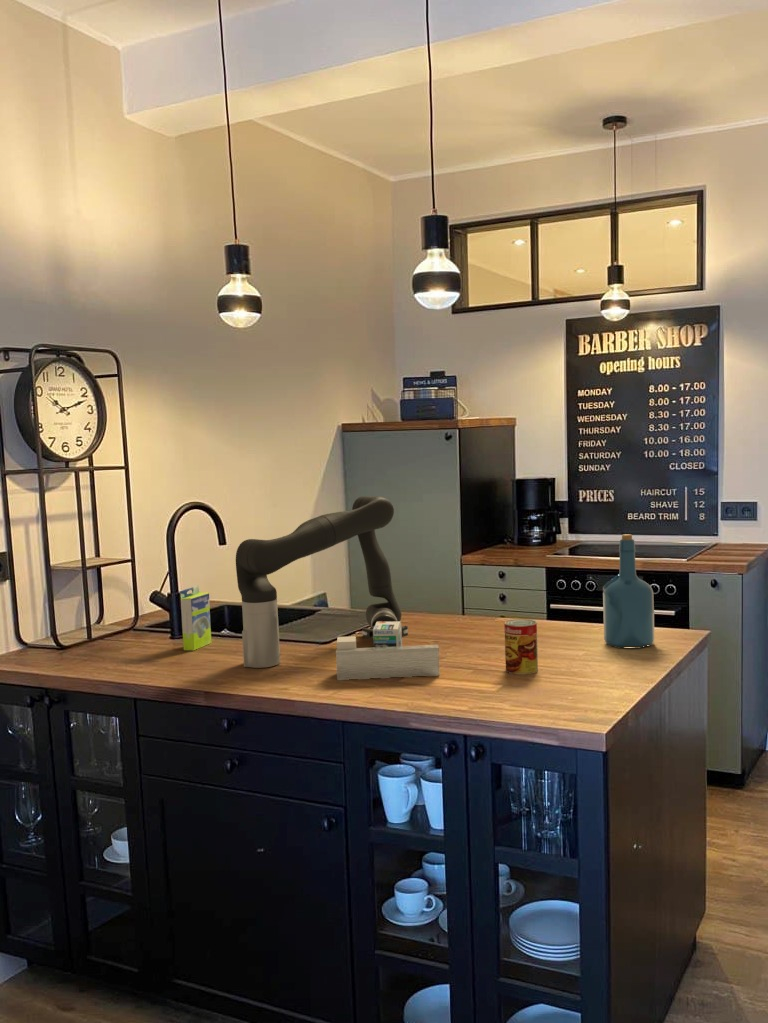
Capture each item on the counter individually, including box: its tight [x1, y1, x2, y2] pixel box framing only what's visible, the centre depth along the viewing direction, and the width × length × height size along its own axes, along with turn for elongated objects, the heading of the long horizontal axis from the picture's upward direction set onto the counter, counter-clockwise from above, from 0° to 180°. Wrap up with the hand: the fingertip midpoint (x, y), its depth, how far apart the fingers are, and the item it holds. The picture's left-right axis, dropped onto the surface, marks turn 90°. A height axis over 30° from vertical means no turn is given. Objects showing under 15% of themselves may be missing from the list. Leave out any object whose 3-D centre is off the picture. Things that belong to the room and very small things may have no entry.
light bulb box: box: [372, 620, 403, 647], centre depth 232 cm, size 11×7×11 cm, turn 175°
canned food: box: [504, 618, 539, 675], centre depth 223 cm, size 8×8×12 cm
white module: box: [336, 635, 357, 649], centre depth 226 cm, size 5×6×9 cm
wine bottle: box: [602, 533, 655, 648], centre depth 246 cm, size 14×13×30 cm
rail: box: [335, 644, 440, 681], centre depth 224 cm, size 25×9×7 cm, turn 91°
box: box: [179, 585, 212, 651], centre depth 265 cm, size 10×4×17 cm, turn 161°
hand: (385, 638), depth 238 cm, fingers closed
